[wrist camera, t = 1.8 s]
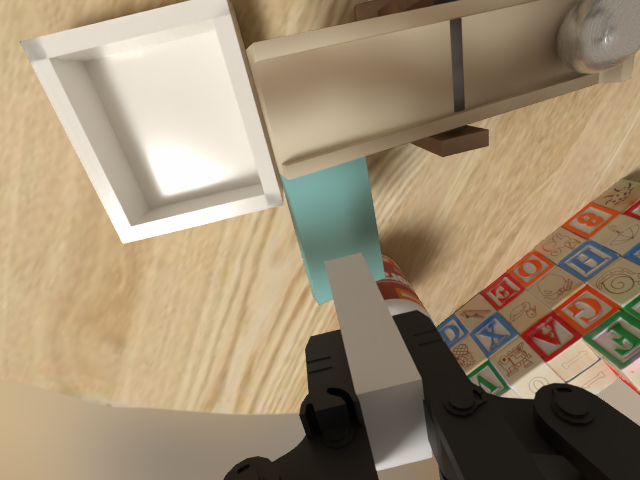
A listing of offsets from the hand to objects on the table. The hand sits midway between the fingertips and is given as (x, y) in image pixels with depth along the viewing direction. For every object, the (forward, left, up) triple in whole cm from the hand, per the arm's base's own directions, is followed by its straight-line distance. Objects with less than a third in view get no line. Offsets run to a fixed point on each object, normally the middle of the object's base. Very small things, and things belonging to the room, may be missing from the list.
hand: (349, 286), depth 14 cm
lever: (-3, +7, -7) cm, 11 cm away
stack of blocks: (+13, +18, -15) cm, 27 cm away
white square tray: (-7, -8, -14) cm, 18 cm away
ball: (-7, +15, -6) cm, 17 cm away
